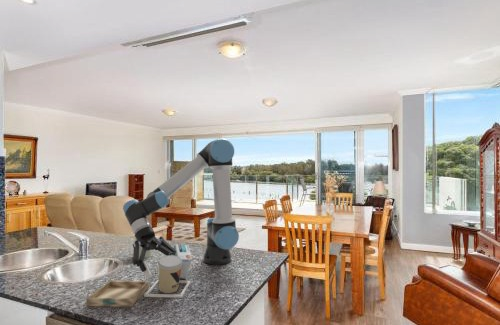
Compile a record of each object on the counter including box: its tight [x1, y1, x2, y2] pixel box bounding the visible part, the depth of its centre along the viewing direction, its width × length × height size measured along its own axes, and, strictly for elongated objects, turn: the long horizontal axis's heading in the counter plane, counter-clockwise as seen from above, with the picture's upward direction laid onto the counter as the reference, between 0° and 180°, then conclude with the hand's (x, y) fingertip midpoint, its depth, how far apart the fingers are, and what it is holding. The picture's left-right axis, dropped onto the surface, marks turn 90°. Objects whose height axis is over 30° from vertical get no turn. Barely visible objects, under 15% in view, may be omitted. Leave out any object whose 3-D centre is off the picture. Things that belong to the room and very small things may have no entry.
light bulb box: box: [173, 243, 193, 279], centre depth 130 cm, size 11×7×11 cm, turn 22°
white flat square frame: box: [143, 279, 191, 299], centre depth 117 cm, size 15×15×1 cm
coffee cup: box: [158, 255, 182, 294], centre depth 116 cm, size 9×9×12 cm
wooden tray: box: [85, 280, 150, 308], centre depth 110 cm, size 16×17×3 cm
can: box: [134, 236, 153, 259], centre depth 162 cm, size 9×9×12 cm
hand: (164, 273), depth 115 cm, fingers open, 13 cm apart
